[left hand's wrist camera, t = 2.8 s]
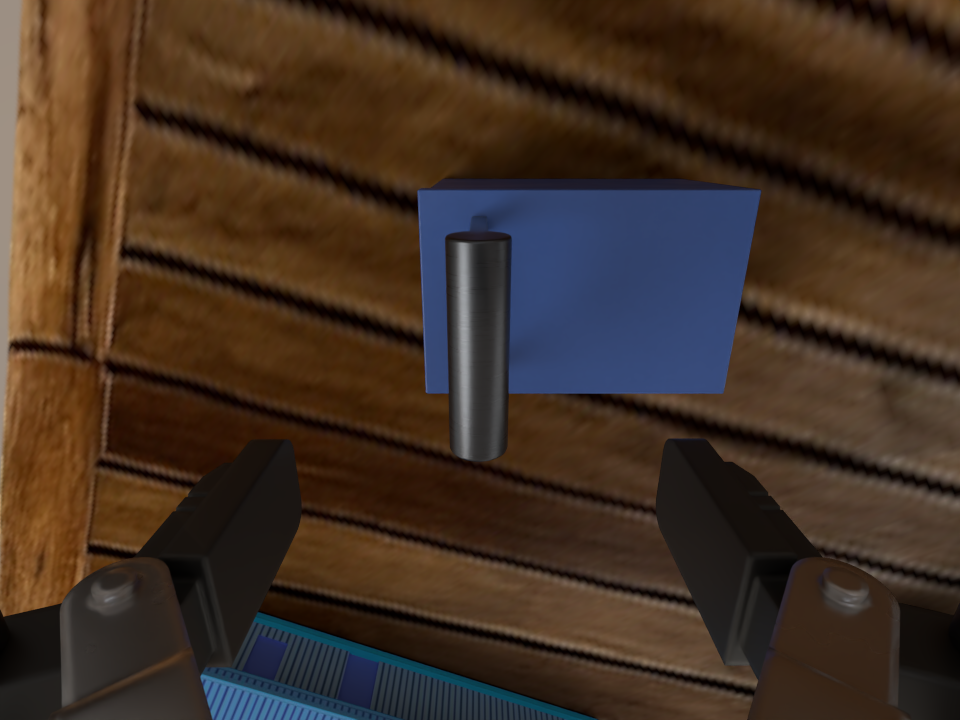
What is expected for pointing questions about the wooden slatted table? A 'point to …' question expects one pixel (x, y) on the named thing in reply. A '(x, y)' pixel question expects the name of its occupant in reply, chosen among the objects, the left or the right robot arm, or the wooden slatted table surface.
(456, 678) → the model building
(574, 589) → the wooden slatted table surface
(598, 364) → the lid
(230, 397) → the wooden slatted table surface
